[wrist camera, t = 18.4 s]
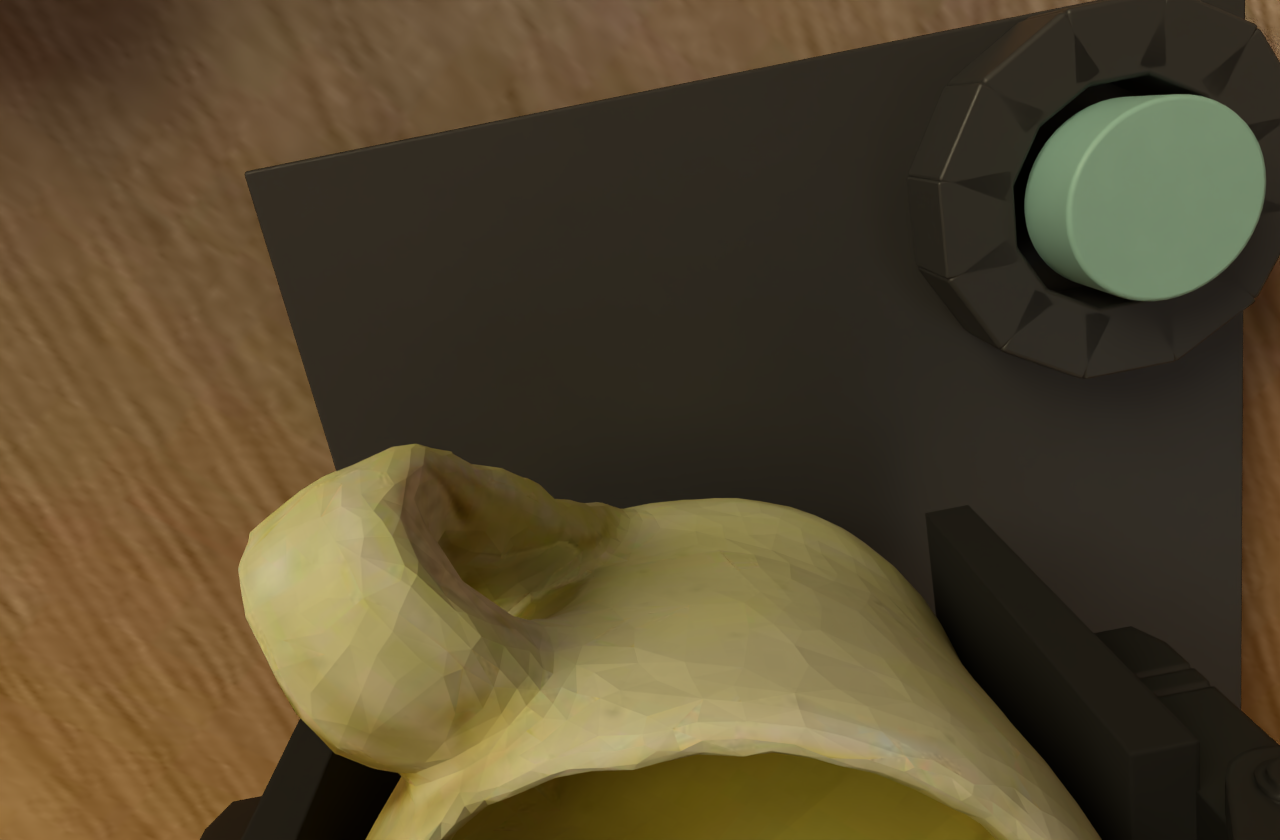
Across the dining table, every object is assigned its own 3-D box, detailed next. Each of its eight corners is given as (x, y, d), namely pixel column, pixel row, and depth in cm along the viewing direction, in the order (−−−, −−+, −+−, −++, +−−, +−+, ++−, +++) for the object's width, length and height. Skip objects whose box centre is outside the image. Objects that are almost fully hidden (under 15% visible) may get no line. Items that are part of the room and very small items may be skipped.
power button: (1203, 79, 15) (1270, 75, 13) (1205, 266, 16) (1268, 281, 14) (1016, 116, 15) (1062, 116, 14) (1028, 301, 16) (1073, 320, 14)
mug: (1169, 863, 17) (1417, 1715, 7) (661, 933, 21) (416, 1547, 11) (913, 209, 15) (830, 271, 6) (423, 419, 19) (-68, 646, 10)
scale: (1195, -18, 17) (1317, -46, 14) (1201, 691, 22) (1294, 778, 19) (269, 167, 17) (205, 177, 14) (469, 831, 22) (450, 938, 19)
